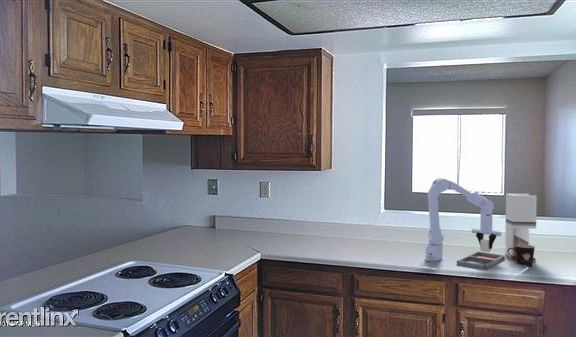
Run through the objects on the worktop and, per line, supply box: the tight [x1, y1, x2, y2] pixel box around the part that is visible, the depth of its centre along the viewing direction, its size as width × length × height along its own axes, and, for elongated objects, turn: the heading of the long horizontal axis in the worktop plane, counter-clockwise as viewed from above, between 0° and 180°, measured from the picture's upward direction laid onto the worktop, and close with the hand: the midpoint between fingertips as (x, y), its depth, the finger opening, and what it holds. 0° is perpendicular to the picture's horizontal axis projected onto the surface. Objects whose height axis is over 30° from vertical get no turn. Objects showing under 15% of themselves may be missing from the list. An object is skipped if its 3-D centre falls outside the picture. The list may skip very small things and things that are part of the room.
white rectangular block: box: [479, 238, 492, 253], centre depth 228 cm, size 4×4×6 cm
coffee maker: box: [504, 193, 538, 263], centre depth 232 cm, size 11×11×35 cm
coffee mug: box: [507, 244, 536, 268], centre depth 221 cm, size 12×9×10 cm
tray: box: [456, 251, 506, 271], centre depth 224 cm, size 28×14×3 cm, turn 136°
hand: (486, 247), depth 229 cm, fingers closed on white rectangular block, 4 cm apart
